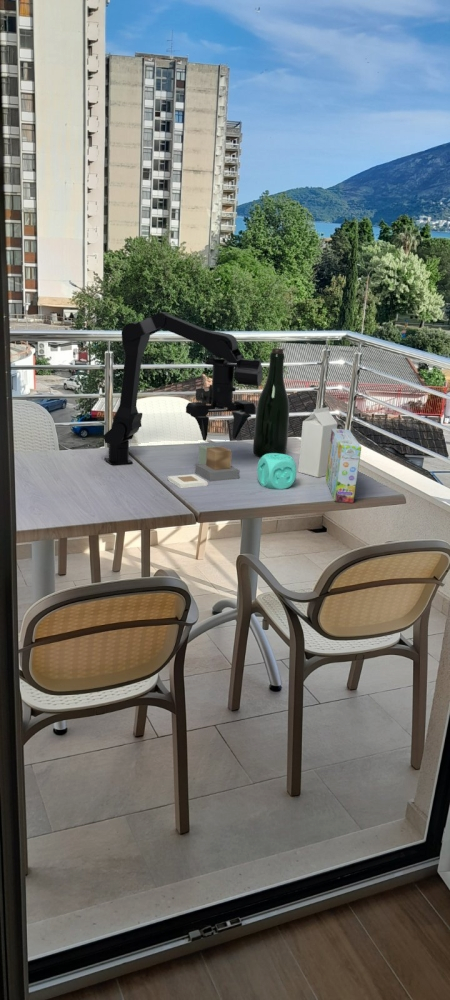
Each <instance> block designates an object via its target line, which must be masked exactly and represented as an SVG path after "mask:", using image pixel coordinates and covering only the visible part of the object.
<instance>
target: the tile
mask: <svg viewBox="0 0 450 1000" xmlns="http://www.w3.org/2000/svg"><path fill="white" fill-rule="evenodd" d="M167 481H168V482H170V483H172V484H173V485H174V486H176V487H178V488H179V489H187V488H196V487H197V488H198V487H206V486H209V483H208V480H206V479H205V478H203V477H201V476H200V475H198V474H196V473H192V474H180V475H169V476H167Z"/></svg>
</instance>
